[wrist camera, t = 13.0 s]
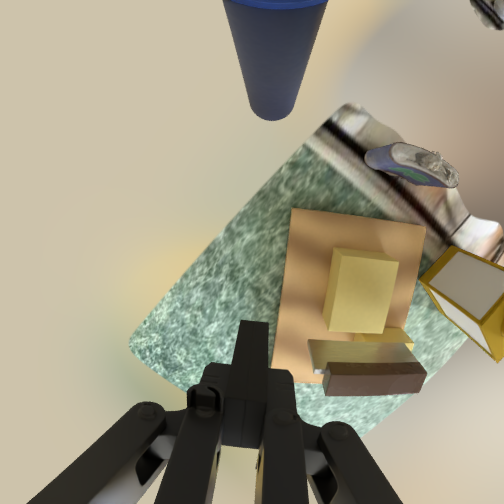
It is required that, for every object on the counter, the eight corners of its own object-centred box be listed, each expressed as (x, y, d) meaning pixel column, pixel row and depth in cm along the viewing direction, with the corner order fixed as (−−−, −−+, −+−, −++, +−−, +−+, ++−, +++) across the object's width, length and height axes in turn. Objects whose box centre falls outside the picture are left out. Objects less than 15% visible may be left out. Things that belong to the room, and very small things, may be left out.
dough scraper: (309, 331, 32) (319, 374, 24) (406, 335, 31) (435, 372, 23) (305, 350, 32) (314, 395, 24) (400, 353, 32) (427, 392, 24)
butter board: (291, 207, 37) (292, 208, 35) (421, 225, 36) (426, 227, 35) (269, 374, 42) (269, 380, 40) (382, 378, 41) (385, 383, 40)
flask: (361, 165, 35) (395, 158, 24) (366, 143, 34) (401, 129, 24) (421, 189, 35) (467, 192, 24) (426, 168, 34) (473, 166, 24)
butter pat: (356, 326, 38) (365, 342, 34) (401, 327, 38) (414, 342, 33) (351, 345, 39) (360, 362, 34) (396, 346, 38) (407, 362, 34)
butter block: (333, 246, 36) (341, 255, 31) (385, 252, 36) (399, 261, 31) (321, 315, 38) (327, 331, 33) (371, 318, 38) (382, 333, 33)
